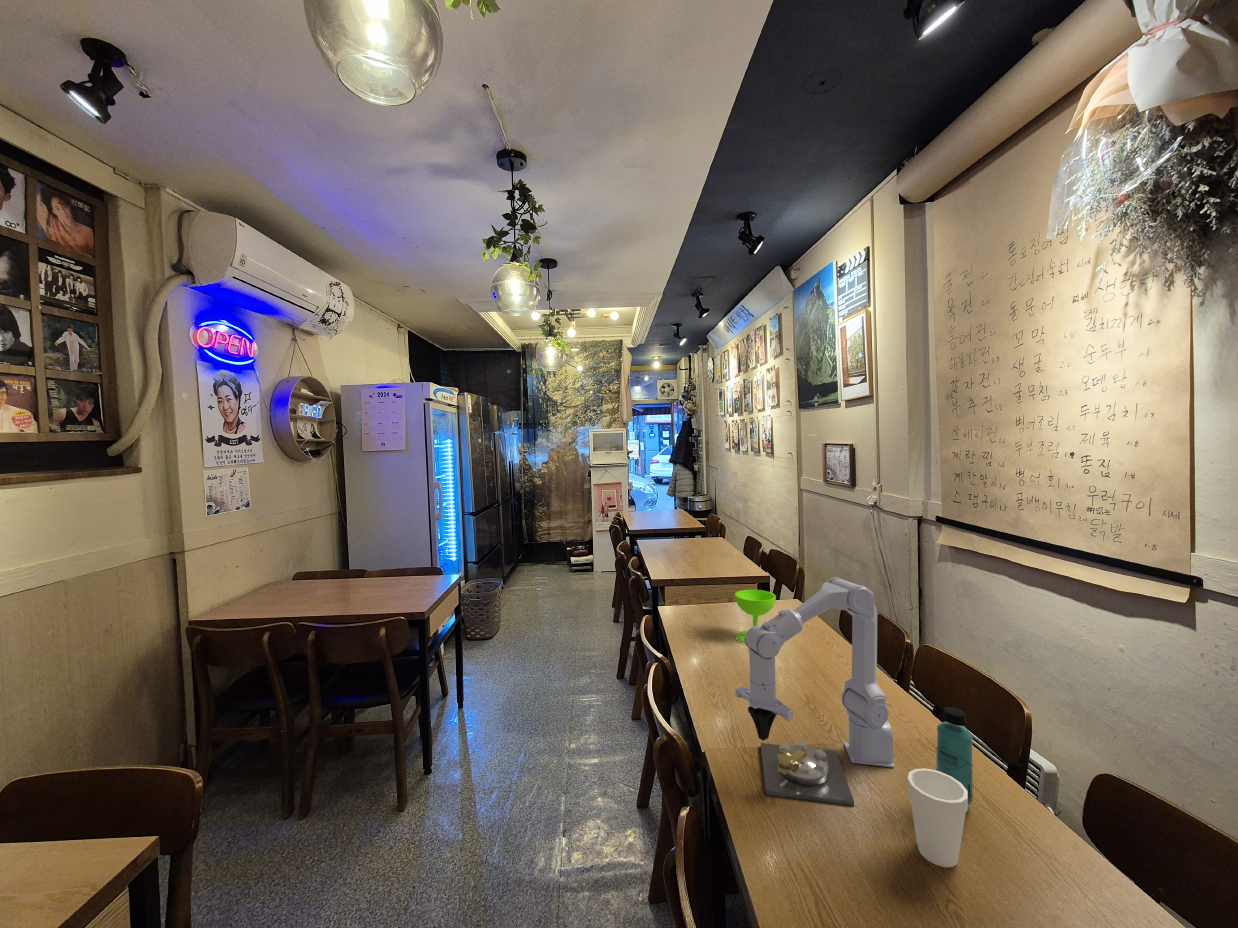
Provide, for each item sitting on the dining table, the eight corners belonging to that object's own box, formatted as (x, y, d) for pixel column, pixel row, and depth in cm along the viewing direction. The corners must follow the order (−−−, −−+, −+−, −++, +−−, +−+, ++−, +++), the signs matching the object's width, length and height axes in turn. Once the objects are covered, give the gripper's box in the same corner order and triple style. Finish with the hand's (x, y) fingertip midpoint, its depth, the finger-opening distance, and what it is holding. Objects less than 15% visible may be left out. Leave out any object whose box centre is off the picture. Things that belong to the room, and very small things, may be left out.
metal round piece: (792, 748, 121) (792, 719, 121) (836, 769, 113) (836, 738, 113) (760, 775, 111) (759, 744, 111) (805, 800, 103) (804, 766, 103)
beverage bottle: (938, 788, 108) (937, 699, 108) (974, 801, 104) (974, 708, 103) (934, 804, 103) (933, 711, 102) (972, 819, 99) (972, 722, 98)
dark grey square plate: (835, 754, 120) (835, 750, 120) (854, 805, 103) (854, 800, 103) (760, 746, 124) (760, 742, 124) (766, 794, 107) (766, 789, 107)
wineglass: (727, 636, 200) (726, 592, 200) (757, 629, 207) (757, 587, 206) (753, 649, 185) (752, 603, 185) (785, 642, 192) (784, 597, 192)
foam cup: (944, 832, 95) (944, 767, 95) (981, 873, 86) (981, 801, 86) (897, 834, 95) (897, 769, 95) (929, 875, 86) (928, 803, 86)
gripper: (726, 674, 116) (727, 730, 116) (779, 697, 104) (780, 759, 104) (745, 665, 120) (746, 719, 120) (798, 687, 108) (799, 747, 109)
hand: (763, 737), depth 113 cm, fingers closed
